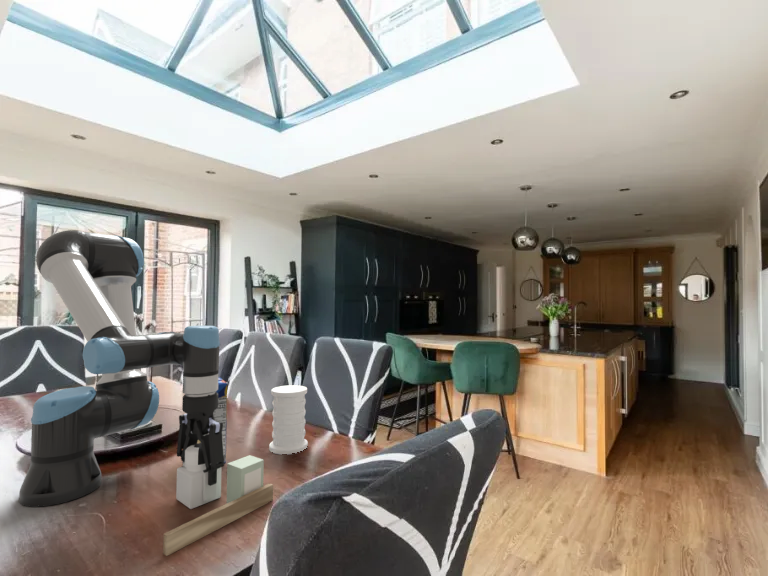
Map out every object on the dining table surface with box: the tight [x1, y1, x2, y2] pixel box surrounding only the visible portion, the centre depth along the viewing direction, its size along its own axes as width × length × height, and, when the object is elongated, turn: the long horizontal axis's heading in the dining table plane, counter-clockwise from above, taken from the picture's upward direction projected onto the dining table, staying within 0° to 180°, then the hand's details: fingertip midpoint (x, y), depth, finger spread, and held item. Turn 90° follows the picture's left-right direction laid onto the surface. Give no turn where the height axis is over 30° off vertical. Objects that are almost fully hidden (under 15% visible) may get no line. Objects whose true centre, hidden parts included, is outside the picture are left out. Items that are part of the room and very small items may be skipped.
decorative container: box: [268, 384, 309, 455], centre depth 124 cm, size 12×12×18 cm
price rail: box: [162, 483, 274, 557], centre depth 81 cm, size 2×24×4 cm, turn 147°
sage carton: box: [226, 454, 265, 504], centre depth 90 cm, size 5×6×9 cm
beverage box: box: [197, 376, 228, 464], centre depth 115 cm, size 7×11×22 cm, turn 32°
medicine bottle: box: [175, 443, 222, 510], centre depth 92 cm, size 7×7×12 cm
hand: (198, 493), depth 92 cm, fingers closed on medicine bottle, 7 cm apart
